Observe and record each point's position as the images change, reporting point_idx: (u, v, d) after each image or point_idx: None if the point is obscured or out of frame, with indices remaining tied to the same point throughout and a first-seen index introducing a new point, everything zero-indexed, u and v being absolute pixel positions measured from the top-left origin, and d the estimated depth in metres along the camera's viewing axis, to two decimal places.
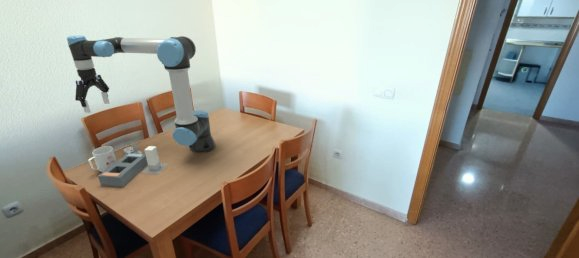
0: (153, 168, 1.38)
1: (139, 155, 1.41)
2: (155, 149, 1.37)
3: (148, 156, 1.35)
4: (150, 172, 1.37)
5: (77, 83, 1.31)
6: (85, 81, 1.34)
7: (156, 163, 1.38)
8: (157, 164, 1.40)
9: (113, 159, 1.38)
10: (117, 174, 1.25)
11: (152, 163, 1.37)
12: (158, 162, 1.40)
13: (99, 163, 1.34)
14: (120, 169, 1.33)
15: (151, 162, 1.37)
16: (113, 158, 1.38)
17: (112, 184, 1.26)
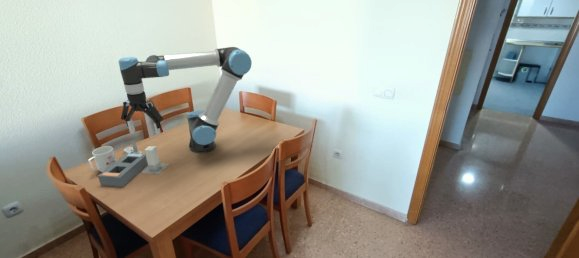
0: (153, 168, 1.38)
1: (139, 155, 1.41)
2: (155, 149, 1.37)
3: (148, 156, 1.35)
4: (150, 172, 1.37)
5: None
6: (130, 104, 1.26)
7: (156, 163, 1.38)
8: (157, 164, 1.40)
9: (113, 159, 1.38)
10: (117, 174, 1.25)
11: (152, 163, 1.37)
12: (158, 162, 1.40)
13: (99, 163, 1.34)
14: (120, 169, 1.33)
15: (151, 162, 1.37)
16: (113, 158, 1.38)
17: (112, 184, 1.26)
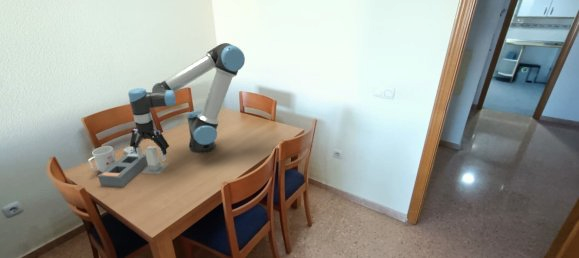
0: (153, 168, 1.38)
1: None
2: (155, 149, 1.37)
3: (148, 156, 1.35)
4: (150, 172, 1.37)
5: None
6: (138, 132, 1.31)
7: (156, 163, 1.38)
8: (157, 164, 1.40)
9: (113, 159, 1.38)
10: (117, 174, 1.25)
11: (152, 163, 1.37)
12: (158, 162, 1.40)
13: (99, 163, 1.34)
14: (120, 169, 1.33)
15: (151, 162, 1.37)
16: (113, 158, 1.38)
17: (112, 184, 1.26)
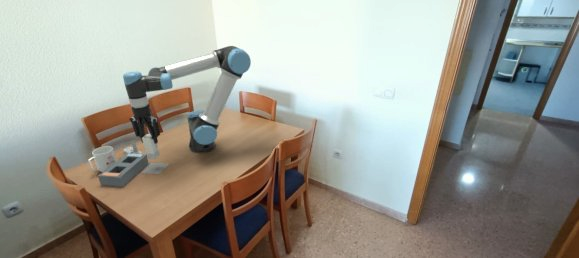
0: (152, 156, 1.36)
1: (139, 155, 1.41)
2: None
3: (146, 144, 1.33)
4: (150, 172, 1.37)
5: None
6: (135, 117, 1.28)
7: (155, 151, 1.36)
8: (156, 153, 1.37)
9: (113, 159, 1.38)
10: (117, 174, 1.25)
11: (150, 151, 1.34)
12: (157, 150, 1.37)
13: (99, 163, 1.34)
14: (120, 169, 1.33)
15: (149, 150, 1.34)
16: (113, 158, 1.38)
17: (112, 184, 1.26)
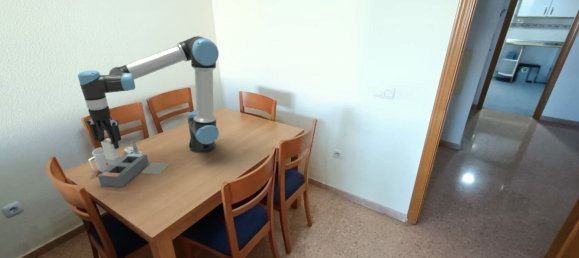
0: (112, 163, 1.25)
1: (139, 155, 1.41)
2: None
3: (105, 149, 1.23)
4: (150, 172, 1.37)
5: None
6: (93, 120, 1.18)
7: (115, 157, 1.25)
8: (117, 158, 1.27)
9: None
10: (117, 174, 1.25)
11: (110, 157, 1.24)
12: (118, 156, 1.27)
13: (99, 163, 1.34)
14: (120, 169, 1.33)
15: (109, 156, 1.24)
16: None
17: (112, 184, 1.26)
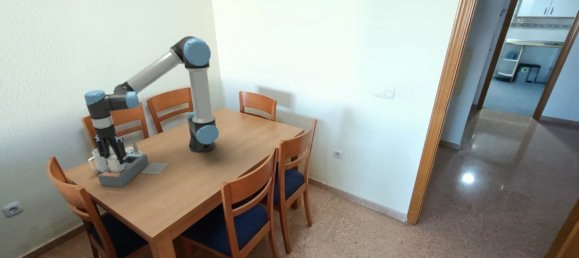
0: None
1: (139, 155, 1.41)
2: None
3: (112, 166, 1.27)
4: (150, 172, 1.37)
5: None
6: (99, 137, 1.22)
7: None
8: None
9: None
10: (117, 174, 1.25)
11: None
12: None
13: (99, 163, 1.34)
14: None
15: None
16: None
17: (112, 184, 1.26)
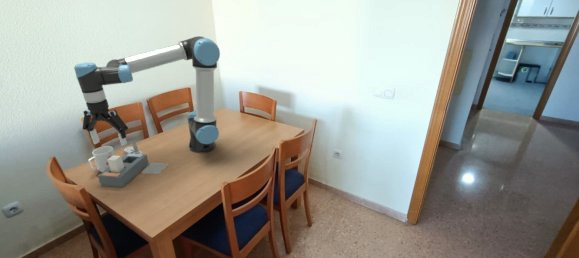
0: None
1: (139, 155, 1.41)
2: (119, 159, 1.28)
3: (112, 166, 1.27)
4: (150, 172, 1.37)
5: None
6: (91, 113, 1.17)
7: None
8: None
9: None
10: (117, 174, 1.25)
11: None
12: None
13: (99, 163, 1.34)
14: None
15: None
16: None
17: (112, 184, 1.26)
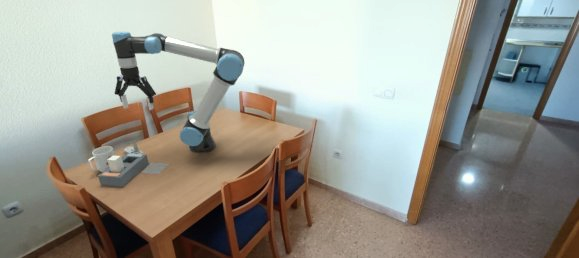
0: None
1: (139, 155, 1.41)
2: (119, 159, 1.28)
3: (112, 166, 1.27)
4: (150, 172, 1.37)
5: None
6: (123, 78, 1.29)
7: None
8: None
9: None
10: (117, 174, 1.25)
11: None
12: None
13: (99, 163, 1.34)
14: None
15: None
16: None
17: (112, 184, 1.26)
